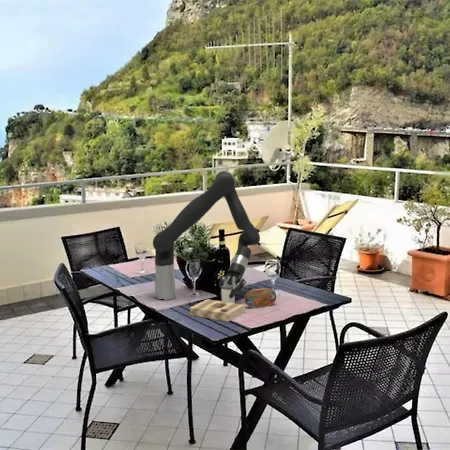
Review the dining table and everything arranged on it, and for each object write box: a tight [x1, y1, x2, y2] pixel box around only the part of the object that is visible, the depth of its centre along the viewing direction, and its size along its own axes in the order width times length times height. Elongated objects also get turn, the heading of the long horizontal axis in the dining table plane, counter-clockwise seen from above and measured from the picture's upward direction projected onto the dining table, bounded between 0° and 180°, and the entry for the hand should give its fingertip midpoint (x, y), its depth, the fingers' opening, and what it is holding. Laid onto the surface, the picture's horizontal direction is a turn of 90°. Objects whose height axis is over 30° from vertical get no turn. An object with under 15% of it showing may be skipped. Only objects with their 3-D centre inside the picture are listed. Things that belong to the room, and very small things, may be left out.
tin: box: [243, 287, 277, 309], centre depth 260 cm, size 15×3×8 cm, turn 106°
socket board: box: [189, 299, 246, 322], centre depth 251 cm, size 20×14×4 cm
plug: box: [220, 283, 236, 304], centre depth 264 cm, size 4×4×9 cm
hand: (226, 296), depth 263 cm, fingers closed on plug, 4 cm apart
